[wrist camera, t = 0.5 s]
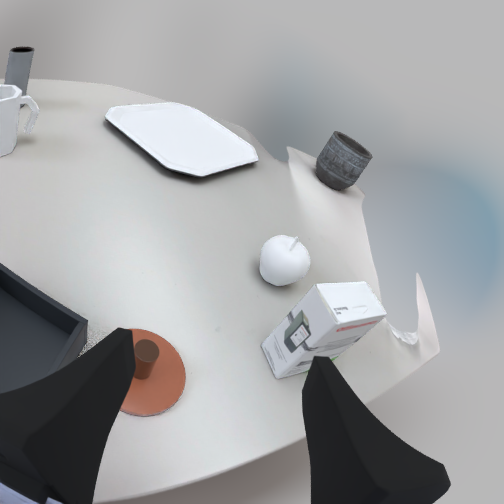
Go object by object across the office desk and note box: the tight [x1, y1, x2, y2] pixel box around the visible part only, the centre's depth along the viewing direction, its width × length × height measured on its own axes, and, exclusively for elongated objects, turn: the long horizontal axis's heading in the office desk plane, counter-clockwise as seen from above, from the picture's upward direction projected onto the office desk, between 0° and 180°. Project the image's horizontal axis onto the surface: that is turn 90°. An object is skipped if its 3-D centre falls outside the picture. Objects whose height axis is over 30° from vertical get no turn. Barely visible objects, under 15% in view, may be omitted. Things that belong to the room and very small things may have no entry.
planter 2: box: [316, 131, 372, 190], centre depth 82 cm, size 12×12×13 cm
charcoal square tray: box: [0, 263, 88, 393], centre depth 21 cm, size 12×12×4 cm
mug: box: [0, 84, 40, 157], centre depth 37 cm, size 12×9×10 cm
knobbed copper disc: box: [120, 329, 186, 416], centre depth 26 cm, size 9×9×5 cm
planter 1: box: [4, 47, 34, 107], centre depth 44 cm, size 6×6×13 cm
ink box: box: [261, 281, 387, 379], centre depth 34 cm, size 9×5×12 cm, turn 114°
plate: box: [105, 102, 259, 178], centre depth 65 cm, size 29×29×2 cm
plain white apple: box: [259, 235, 310, 286], centre depth 44 cm, size 7×7×8 cm
